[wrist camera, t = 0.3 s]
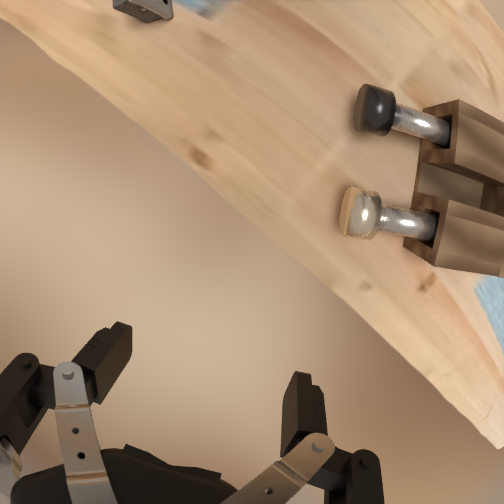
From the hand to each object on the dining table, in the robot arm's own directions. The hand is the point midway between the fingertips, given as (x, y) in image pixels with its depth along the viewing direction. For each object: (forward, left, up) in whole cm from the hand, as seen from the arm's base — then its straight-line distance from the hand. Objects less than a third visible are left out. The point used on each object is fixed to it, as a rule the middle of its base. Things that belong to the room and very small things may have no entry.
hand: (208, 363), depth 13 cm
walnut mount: (-12, +29, -27) cm, 41 cm away
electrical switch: (-33, -17, -27) cm, 46 cm away
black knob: (-18, +19, -24) cm, 35 cm away
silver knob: (-6, +19, -24) cm, 31 cm away
